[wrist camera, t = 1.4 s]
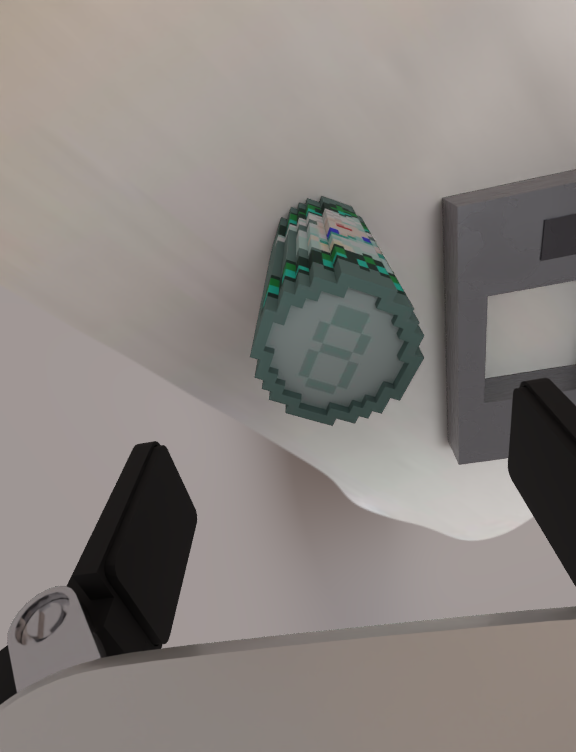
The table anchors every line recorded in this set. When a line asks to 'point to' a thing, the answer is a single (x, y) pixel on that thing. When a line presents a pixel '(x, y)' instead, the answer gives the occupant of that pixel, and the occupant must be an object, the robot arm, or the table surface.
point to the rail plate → (497, 276)
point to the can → (333, 319)
